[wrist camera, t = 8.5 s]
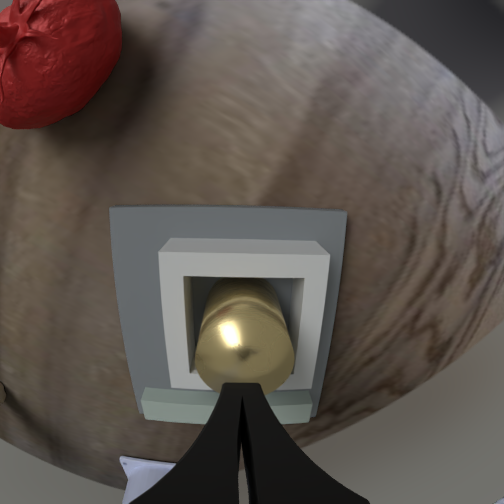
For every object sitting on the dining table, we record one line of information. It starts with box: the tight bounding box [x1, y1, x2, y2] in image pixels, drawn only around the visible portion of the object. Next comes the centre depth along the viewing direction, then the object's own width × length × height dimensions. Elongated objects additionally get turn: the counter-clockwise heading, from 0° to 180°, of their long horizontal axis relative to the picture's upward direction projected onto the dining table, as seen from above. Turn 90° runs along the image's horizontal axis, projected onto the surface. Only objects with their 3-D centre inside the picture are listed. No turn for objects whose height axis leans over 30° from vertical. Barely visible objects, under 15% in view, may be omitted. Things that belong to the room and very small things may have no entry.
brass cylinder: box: [195, 277, 295, 395], centre depth 16 cm, size 4×4×6 cm
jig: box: [109, 205, 347, 424], centre depth 18 cm, size 16×14×4 cm
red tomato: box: [0, 0, 122, 129], centre depth 11 cm, size 10×10×9 cm
